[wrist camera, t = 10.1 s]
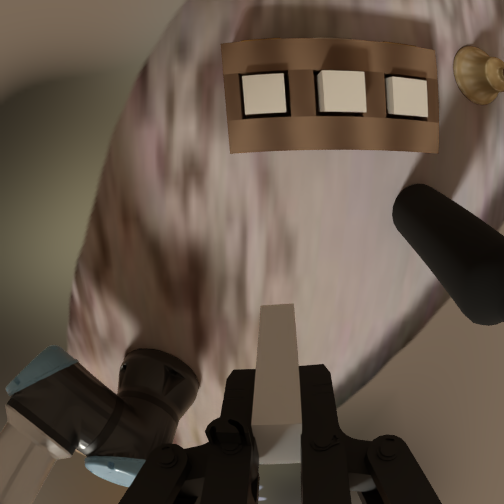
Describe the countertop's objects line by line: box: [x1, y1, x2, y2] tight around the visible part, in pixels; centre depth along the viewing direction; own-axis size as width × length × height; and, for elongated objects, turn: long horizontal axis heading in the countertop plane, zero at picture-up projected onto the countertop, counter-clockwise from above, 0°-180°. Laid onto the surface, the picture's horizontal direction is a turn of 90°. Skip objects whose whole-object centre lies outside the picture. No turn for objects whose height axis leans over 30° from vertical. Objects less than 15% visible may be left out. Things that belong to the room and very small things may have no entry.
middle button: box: [316, 70, 366, 112], centre depth 28 cm, size 4×4×5 cm
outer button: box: [384, 77, 428, 117], centre depth 28 cm, size 4×4×5 cm
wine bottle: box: [392, 184, 504, 326], centre depth 24 cm, size 8×8×30 cm
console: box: [221, 37, 439, 154], centre depth 30 cm, size 23×12×5 cm, turn 95°
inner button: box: [242, 73, 286, 115], centre depth 30 cm, size 4×4×5 cm
